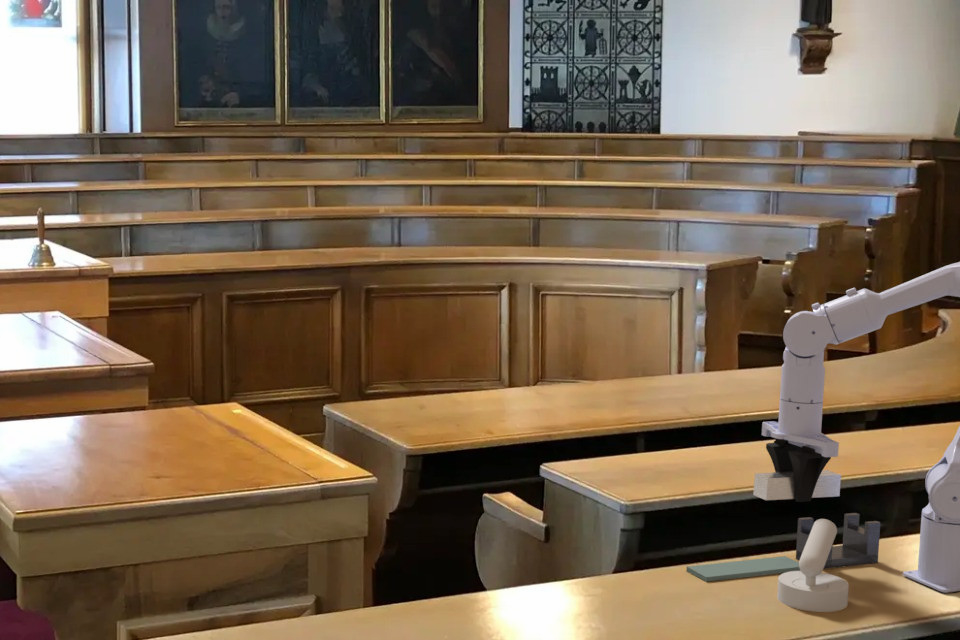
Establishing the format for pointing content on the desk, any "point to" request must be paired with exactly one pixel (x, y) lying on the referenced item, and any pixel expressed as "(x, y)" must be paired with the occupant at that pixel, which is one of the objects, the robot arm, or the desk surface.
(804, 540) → the dark grey slotted rack
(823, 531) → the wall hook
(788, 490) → the silver rail
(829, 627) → the desk surface
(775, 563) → the rubber mat
